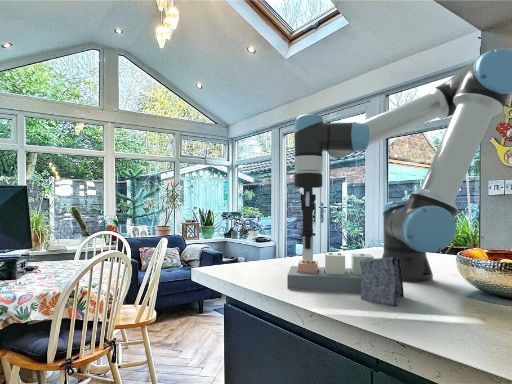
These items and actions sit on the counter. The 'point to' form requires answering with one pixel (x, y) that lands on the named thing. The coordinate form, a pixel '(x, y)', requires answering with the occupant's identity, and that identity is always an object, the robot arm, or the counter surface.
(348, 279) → the key board
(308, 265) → the tile three
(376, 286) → the stone
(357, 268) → the tile one
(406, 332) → the counter surface
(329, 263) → the tile two
